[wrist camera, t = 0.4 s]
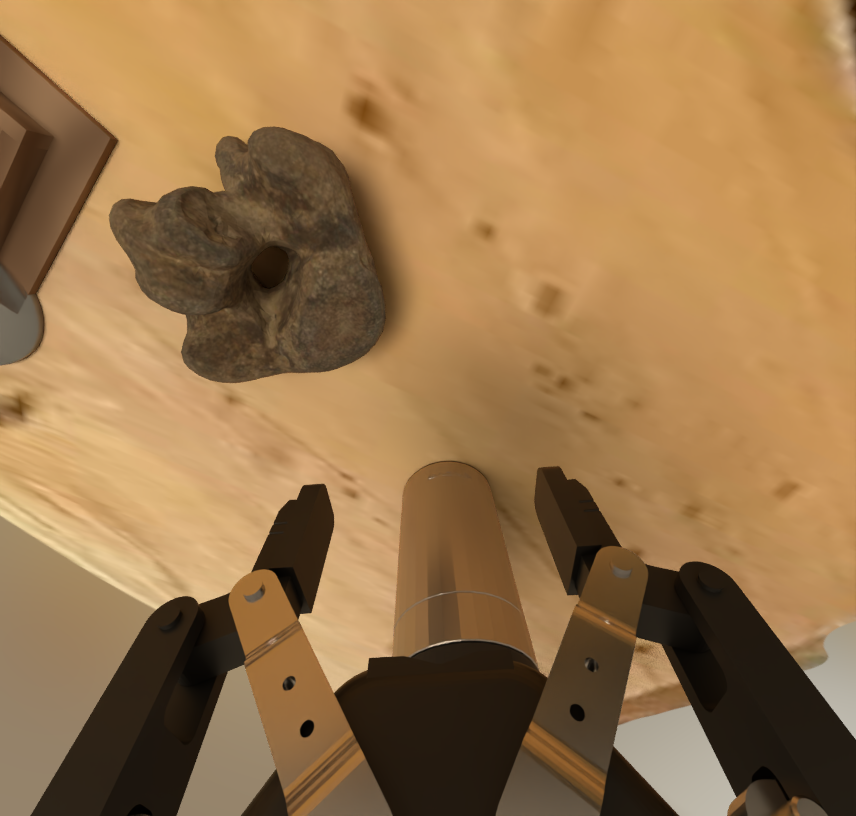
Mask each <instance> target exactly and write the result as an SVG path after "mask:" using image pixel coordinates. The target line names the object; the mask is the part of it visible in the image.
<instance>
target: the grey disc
mask: <svg viewBox="0 0 856 816" xmlns="http://www.w3.org/2000/svg"><path fill="white" fill-rule="evenodd" d="M2 267H4V266H3V265H2ZM2 267H1V265H0V268H1V269H0V275H1V276H0V283H1V284H0V285H1V286H0V290H2V289H3V290H4V292H3V290H2V291H1V292H0V294H1V295H0V296H2V297H1V299H2V298H3V297H4V298H3V299H2V301H3V302H2V301H1V303H0V365H5V364H10V363H13V362H16V361H19V360H22V359H24V358H26V357H28V356H29V355H31V354H32V353H33V352H34V351H35V350H36V349H37V347H38V346H39V344H40V342H41V339H42V336H43V331H44V320H43V314H42V310H41V306H40V303H39V301H38V298H37V296H36V294H32V295H27V294H26V295H27V296H26V297H27V298H26V297H25V295H24V294H25V293H23V295H24V296H23V295H22V293H21V290H18V286H17V287H15V286H16V285H17V284H15V283H16V282H15V281H16V280H15V281H14V280H13V278H12V277H13V276H12V277H10V278H11V279H12V280H11V279H10V278H8V276H9V275H8V273H5V272H7V270H4V269H5V268H4V269H3V268H2ZM2 270H3V271H2ZM8 271H9V270H8ZM1 273H2V274H1ZM4 273H5V275H6V276H7V277H6V276H5V275H4ZM2 276H4V277H2ZM4 278H5V279H4ZM14 278H15V277H14ZM4 280H5V281H4ZM8 280H9V281H8ZM10 280H11V282H10ZM1 281H2V282H1ZM6 282H7V283H6ZM9 282H10V283H9ZM13 282H14V283H13ZM3 283H4V284H3ZM8 283H9V284H8ZM12 284H13V285H12ZM2 285H3V286H2ZM7 285H8V286H7ZM10 285H11V286H12V287H11V286H10ZM14 285H15V286H14ZM1 287H2V289H1ZM14 287H15V288H14ZM5 289H6V292H5ZM7 289H8V290H7ZM19 289H20V288H19ZM11 290H12V291H13V292H12V291H11ZM24 290H25V289H24ZM7 291H8V292H9V291H11V292H12V293H11V292H9V293H8V294H6V293H7ZM22 291H23V290H22ZM23 292H26V291H23ZM4 293H5V294H6V295H7V296H8V295H9V296H8V298H7V296H6V295H5V294H4ZM20 293H21V295H20ZM3 295H4V296H3ZM14 295H15V296H14ZM13 296H14V297H13ZM16 296H18V297H16ZM9 297H10V298H9ZM11 297H12V298H11ZM5 298H7V299H5ZM16 298H17V299H16ZM21 298H22V299H21ZM25 298H26V299H25ZM4 299H5V300H4ZM8 299H13V300H10V301H8ZM17 300H18V302H17ZM6 301H7V302H8V303H9V305H7V304H8V303H7V302H6ZM11 301H12V302H13V301H14V303H15V304H16V305H14V304H13V303H12V302H11ZM10 302H11V303H10ZM19 302H20V303H21V302H22V303H21V304H20V303H19ZM2 303H4V305H3V304H2ZM6 303H7V304H6ZM5 305H7V306H6V307H5ZM12 305H14V306H13V307H10V306H12ZM8 306H9V308H10V309H8ZM19 306H20V307H19ZM14 307H15V309H16V310H15V309H14ZM16 307H18V308H16ZM11 308H13V310H14V311H12V309H11ZM20 308H21V309H20ZM18 309H19V310H18ZM17 312H18V314H17Z"/></svg>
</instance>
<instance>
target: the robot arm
mask: <svg viewBox="0 0 856 816" xmlns="http://www.w3.org/2000/svg"><path fill="white" fill-rule="evenodd" d="M535 509H536V513H537V516H538V519H539V522H540V524H541V527H542V530H543V532H544V535H545V537H546V540H547V543H548V545H549V548H550V551H551V553H552V556H553V559H554V561H555V564H556V567H557V569H558V572H559V574H560V577H561V580H562V582H563V585H564V588H565V590H566V593H567V595H579V598H580V600H579V602H578V604H577V605H576V606H575V608H574V610H573V613H572V615H571V618H570V621H569V623H568V626H567V629H566V631H565V634H564V637H563V639H562V642H561V645H560V647H559V650H558V653H557V655H556V658H555V661H554V663H553V666H552V668H551V671H550V674H549V676H548V678H547V677H546V676H544V675H543V674H542V673H540V672H539V668H538V665H537V661H536V657H535V653H534V650H533V646H532V642H531V638H530V635H529V631H528V627H527V624H526V621H525V617H524V613H523V609H522V606H521V602H520V598H519V594H518V591H517V587H516V583H515V579H514V576H513V572H512V568H511V564H510V561H509V557H508V553H507V549H506V546H505V542H504V538H503V534H502V531H501V527H500V523H499V519H498V515H497V511H496V508H495V504H494V500H493V496H492V493H491V489H490V486H489V484H488V482H487V480H486V479H485V477H484V476H483V475H482V474H481V473H480V472H479V471H477V470H476V469H474V468H472V467H470V466H468V465H466V464H462V463H458V462H439V463H435V464H431V465H428V466H426V467H424V468H422V469H420V470H419V471H418V472H416V473H415V474H414V475H413V476H412V477H411V478H410V479H409V480H408V482H407V484H406V486H405V488H404V492H403V498H402V513H401V526H400V542H399V557H398V573H397V588H396V604H395V619H394V635H393V636H394V638H393V654H392V657H380V658H369V664H368V670H367V671H364V672H362V673H360V674H358V675H356V676H354V677H353V678H351V679H350V680H348V681H347V682H346V683H344V684H343V685H342V686H341V687H340V688H339V689H338V690H337V691H336V692H335V693H333V691H332V689H331V686H330V684H329V682H328V680H327V678H326V676H325V674H324V672H323V670H322V668H321V666H320V664H319V662H318V659H317V657H316V655H315V653H314V651H313V649H312V647H311V645H310V643H309V641H308V639H307V637H306V635H305V633H304V630H303V628H302V626H301V624H300V623H299V621H298V619H299V616H300V614H306V613H312V609H313V605H314V601H315V597H316V593H317V590H318V586H319V582H320V578H321V574H322V571H323V567H324V563H325V559H326V555H327V552H328V548H329V544H330V540H331V536H332V533H333V528H334V514H333V510H332V506H331V503H330V499H329V496H328V492H327V488H326V486H325V484H313V485H304V486H303V487H302V488H301V491H300V493H299V496H298V498H297V500H289V501H288V502H287V503H286V504H285V505H284V506H283V507H282V508H281V509H280V511H279V512H278V515H277V517H276V519H275V521H274V525H273V526H272V528H271V530H270V532H269V533H270V534H269V535H268V537H267V539H266V541H265V543H264V545H263V548H262V550H261V552H260V554H259V556H258V559H257V561H256V563H255V565H254V567H253V570H252V572H251V573H249V574H247V575H246V576H244V577H243V578H242V579H240V580H239V581H238V582H237V583H236V584H235V586H234V587H233V589H232V590H231V592H230V593H228V594H226V595H223V596H221V597H218V598H215V599H212V600H210V601H207V602H204V603H201V604H198V603H197V601H196V600H195V599H194V598H192V597H188V596H183V597H178V598H175V599H173V600H170V601H169V602H167V603H165V604H163V605H162V606H161V607H159V608H158V609H157V610H156V611H155V612H154V613H153V614H152V615H151V616H150V617H149V618H148V620H147V621H146V623H145V624H144V626H143V628H142V629H141V631H140V633H139V635H138V636H137V638H136V639H135V641H134V643H133V645H132V646H131V648H130V650H129V651H128V653H127V655H126V656H125V658H124V660H123V661H122V663H121V665H120V666H119V668H118V670H117V671H116V673H115V675H114V677H113V678H112V680H111V681H110V683H109V685H108V687H107V688H106V690H105V692H104V693H103V695H102V697H101V698H100V700H99V702H98V703H97V705H96V707H95V708H94V710H93V712H92V714H91V715H90V717H89V719H88V720H87V722H86V724H85V725H84V727H83V729H82V731H81V732H80V734H79V735H78V737H77V739H76V740H75V742H74V744H73V746H72V747H71V749H70V750H69V752H68V754H67V755H66V757H65V759H64V761H63V762H62V764H61V766H60V767H59V769H58V771H57V772H56V774H55V776H54V777H53V779H52V781H51V782H50V784H49V786H48V788H47V789H46V791H45V792H44V794H43V796H42V798H41V799H40V801H39V802H38V804H37V806H36V808H35V809H34V811H33V813H32V814H31V816H176V815H177V813H178V810H179V807H180V804H181V801H182V798H183V796H184V793H185V790H186V787H187V785H188V782H189V779H190V776H191V773H192V771H193V768H194V765H195V762H196V759H197V756H198V753H199V750H200V748H201V745H202V742H203V740H204V737H205V734H206V731H207V728H208V725H209V723H210V720H211V717H212V714H213V711H214V708H215V706H216V703H217V700H218V698H219V695H220V692H221V689H222V686H223V683H224V681H225V678H226V675H227V672H228V671H230V670H232V669H234V668H237V667H239V666H242V665H245V669H246V672H247V675H248V679H249V682H250V685H251V688H252V691H253V695H254V698H255V701H256V704H257V707H258V711H259V714H260V717H261V721H262V724H263V727H264V730H265V734H266V737H267V740H268V743H269V747H270V750H271V753H272V756H273V760H274V763H275V766H276V770H275V771H274V772H273V774H272V775H271V777H270V778H269V779H268V780H267V782H266V783H265V785H264V786H263V787H262V789H261V790H260V791H259V792H258V794H257V795H256V796H255V798H254V799H253V801H252V802H251V803H250V804H249V806H248V807H247V809H246V810H245V811H244V812H243V814H242V815H241V816H679V815H678V814H677V813H676V812H675V811H674V810H673V809H672V808H671V807H670V806H669V805H668V804H667V802H665V800H664V799H663V798H662V797H661V796H660V795H659V794H658V793H657V792H656V791H655V790H654V789H653V788H652V787H651V785H649V784H648V782H647V781H646V780H645V779H644V778H643V777H642V776H641V775H640V774H639V773H638V772H637V771H636V770H635V769H634V768H633V766H632V765H631V764H630V763H629V762H628V761H627V760H626V759H625V758H624V757H623V756H622V755H621V754H620V753H619V752H618V751H617V749H616V748H615V747H614V746H613V744H614V740H615V735H616V731H617V726H618V722H619V717H620V712H621V708H622V703H623V699H624V694H625V689H626V685H627V680H628V676H629V671H630V666H631V662H632V657H633V653H634V648H635V643H636V637H638V638H641V639H645V640H649V641H653V642H656V643H660V644H662V646H663V648H664V650H665V652H666V654H667V657H668V659H669V661H670V663H671V665H672V667H673V669H674V671H675V673H676V675H677V677H678V679H679V681H680V683H681V685H682V687H683V689H684V691H685V693H686V695H687V697H688V699H689V701H690V703H691V705H692V707H693V710H694V711H695V714H696V715H697V718H698V720H699V722H700V724H701V726H702V728H703V730H704V732H705V734H706V736H707V738H708V740H709V742H710V744H711V746H712V748H713V750H714V752H715V754H716V756H717V758H718V760H719V763H720V765H721V767H722V769H723V771H724V773H725V775H726V777H727V779H728V780H729V783H730V785H731V787H732V789H733V791H734V793H735V795H736V797H737V798H736V799H734V800H733V802H732V803H731V804H730V806H729V809H728V815H727V816H856V739H855V738H854V737H853V736H852V734H851V733H850V732H849V730H848V729H847V728H846V727H845V725H844V724H843V722H842V721H841V720H840V719H839V717H838V716H837V715H836V713H835V712H834V711H833V710H832V708H831V707H830V706H829V704H828V703H827V702H826V700H825V699H824V698H823V696H822V695H821V694H820V692H819V691H818V690H817V689H816V687H815V686H814V685H813V683H812V682H811V681H810V679H809V678H808V677H807V675H806V674H805V673H804V671H803V670H802V669H801V668H800V666H799V665H798V664H797V662H796V661H795V660H794V658H793V657H792V656H791V654H790V653H789V652H788V651H787V649H786V648H785V647H784V645H783V644H782V643H781V641H780V640H779V639H778V637H777V636H776V635H775V633H774V632H773V631H772V630H771V628H770V627H769V626H768V624H767V623H766V622H765V620H764V619H763V618H762V616H761V615H760V614H759V613H758V611H757V610H756V609H755V607H754V606H753V605H752V603H751V602H750V601H749V599H748V598H747V597H746V596H745V594H744V593H743V592H742V590H741V589H740V588H739V586H738V585H737V584H736V583H735V581H734V580H733V579H732V578H731V577H730V576H729V575H727V574H726V573H725V572H723V571H722V570H720V569H718V568H717V567H715V566H712V565H710V564H707V563H703V562H688V563H685V564H684V565H683V566H682V567H681V568H680V571H679V572H678V571H673V570H668V569H663V568H659V567H654V566H650V565H647V564H645V563H644V562H643V561H642V560H641V559H640V558H639V557H638V556H637V555H636V554H634V553H633V552H631V551H629V550H627V549H625V548H622V547H621V545H620V544H619V542H618V541H617V539H616V537H615V535H614V534H613V532H612V530H611V529H610V527H609V525H608V524H607V522H606V520H605V518H604V517H603V515H602V513H601V512H600V511H599V508H598V507H597V505H596V503H595V502H594V501H593V498H592V496H591V495H590V493H589V491H588V490H587V488H586V487H584V486H583V485H582V484H581V483H579V482H578V481H577V480H576V479H572V480H567V479H566V477H565V475H564V473H563V471H562V469H561V468H560V467H559V466H557V467H543V468H538V470H537V478H536V488H535Z"/></svg>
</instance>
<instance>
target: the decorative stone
mask: <svg viewBox="0 0 856 816" xmlns="http://www.w3.org/2000/svg"><path fill="white" fill-rule="evenodd" d="M215 158H216V162H217V165H218V167H219V168H220V174H221V180H222V183H223V186H224V189H225V191H220V192H214V193H213V192H211V191H210V190H208V189H206V188H201V187H194V186H190V187H184V188H178V189H176V190H174V191H172V192H170V193H168V194H166V195H164V196H162V197H161V199H160V200H159V201H158V202H157V203H155V202H147V201H139V200H134V199H121V200H120V201H118V202H117V203H115V204H114V205H113V207H112V209H111V212H110V214H109V221H110V227H111V229H112V232H113V234H114V236H115V238H116V240H117V241H118V243H119V244H120V246H121V247H122V248H123V250H124V251H125V253H126V254H127V255H128V257H129V258H130V260H131V262H132V264H133V266H134V268H135V275H136V280H137V282H138V284H139V286H140V288H141V290H142V291H143V292H144V293H145V294H146V295H147V297H148V298H150V299H151V300H153V301H155V302H156V303H158V304H159V305H161V306H163V307H165V308H167V309H169V310H171V311H174V312H177V313H180V314H185V315H186V318H187V334H186V337H185V339H184V342H183V346H182V351H181V353H182V357H183V361H184V363H185V364H186V365H187V367H188V368H189V369H191V370H192V371H194V372H195V373H196V374H198V375H199V376H201V377H204V378H206V379H209V380H212V381H217V382H222V383H240V382H246V381H251V380H256V379H259V378H263V377H268V376H273V375H277V374H282V373H311V372H326V371H331V370H334V369H338V368H340V367H343V366H345V365H347V364H350V363H352V362H354V361H356V360H357V359H359V358H361V357H362V356H364V355H365V354H366V353H367V352H368V351H369V350H370V349H371V348H372V347H373V346H374V345H375V343H376V342H377V340H378V338H379V337H380V335H381V334H382V332H383V328H384V324H385V319H386V316H385V299H384V295H383V291H382V286H381V284H380V282H379V280H378V276H377V272H376V268H375V264H374V260H373V257H372V255H371V252H370V250H369V247H368V245H367V243H366V240H365V236H364V232H363V229H362V226H361V222H360V219H359V215H358V211H357V208H356V205H355V202H354V198H353V194H352V190H351V186H350V181H349V176H348V174H347V172H346V170H345V168H344V166H343V164H342V163H341V162H340V160H339V159H338V158H337V157H336V155H335V154H334V152H333V151H332V150H330V149H329V148H327V147H326V146H324V145H323V144H321V143H319V142H316V141H313V140H312V139H310V138H308V137H306V136H304V135H301V134H299V133H296V132H293V131H290V130H287V129H285V128H279V127H263V128H261V129H258V130H256V131H254V132H253V133H252V135H251V136H250V138H249V140H248V145H246V144H245V143H244V142H243V141H242V140H240V139H239V138H237V137H232V136H227V137H223V138H222V139H221V140H220V141H219V143H218V144H217V146H216V152H215ZM271 246H274V247H278V248H280V249H282V250H284V251H285V252H286V253H287V255H288V259H289V266H288V271H287V273H286V276H285V278H284V280H283V281H282V282H281V283H280V284H278V285H277V286H275V287H273V288H270V289H268V288H264V287H263V286H262V285H261V283H260V282H259V281H258V279H257V278H256V276H255V275H254V273H253V272H252V271H251V263H252V262H253V261H254V260H255V259H256V257H257V256H258V255H259V254H260V253H261V252H262V251H263V250H264V249H266V248H267V247H271Z"/></svg>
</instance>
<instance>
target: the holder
mask: <svg viewBox="0 0 856 816" xmlns="http://www.w3.org/2000/svg"><path fill="white" fill-rule="evenodd" d="M116 142H117V139H116V138H115V137H114V136H113V135H111V134H110V133H109V132H108V131H107V130H106V129H105V128H104V127H102V126H101V125H100V124H99V123H98V122H97V121H96V120H95V119H94V118H92V117H91V116H90V115H89V114H88V113H87V112H86V111H85V110H83V109H82V108H81V107H80V106H79V105H78V104H77V103H76V102H75V101H73V100H72V99H71V98H70V97H69V96H68V95H67V94H66V93H64V92H63V91H62V90H61V89H60V88H59V87H58V86H57V85H56V84H54V83H53V82H52V81H51V80H50V79H49V78H48V77H47V76H45V75H44V74H43V73H42V72H41V71H40V70H39V69H38V68H37V67H35V66H34V65H33V64H32V63H31V62H30V61H29V60H28V59H26V58H25V57H24V56H23V55H22V54H21V53H20V52H19V51H18V50H16V49H15V48H14V47H13V46H12V45H11V44H10V43H9V42H7V41H6V40H5V39H4V38H3V37H2V36H1V35H0V265H1V267H2V265H3V266H4V267H2V268H3V269H4V268H5V269H4V270H7V272H5V273H8V275H9V276H8V278H10V277H12V276H13V277H12V278H13V280H14V281H15V280H16V281H15V282H16V283H15V284H17V285H16V286H15V285H14V286H15V287H17V286H18V290H21V293H22V295H23V293H25V294H24V295H25V297H26V296H27V295H32V294H36V292H37V290H38V288H39V286H40V284H41V283H42V281H43V279H44V277H45V275H46V273H47V271H48V269H49V268H50V266H51V264H52V262H53V260H54V258H55V256H56V254H57V253H58V251H59V249H60V247H61V245H62V243H63V241H64V239H65V238H66V236H67V234H68V232H69V230H70V228H71V226H72V224H73V223H74V221H75V219H76V217H77V215H78V213H79V211H80V209H81V208H82V206H83V204H84V202H85V200H86V198H87V196H88V194H89V193H90V191H91V189H92V187H93V185H94V183H95V181H96V179H97V178H98V176H99V174H100V172H101V170H102V168H103V166H104V164H105V163H106V161H107V159H108V157H109V155H110V153H111V151H112V149H113V148H114V146H115V144H116ZM0 269H1V268H0ZM8 270H9V271H8ZM2 271H3V270H2ZM5 273H4V275H5ZM1 274H2V273H1ZM0 276H1V275H0ZM5 276H6V275H5ZM2 277H4V276H2ZM6 277H7V276H6ZM14 277H15V278H14ZM4 279H5V278H4ZM10 279H11V278H10ZM11 280H12V279H11ZM11 280H10V282H11ZM4 281H5V280H4ZM8 281H9V280H8ZM1 282H2V281H1ZM10 282H9V283H10ZM6 283H7V282H6ZM9 283H8V284H9ZM13 283H14V282H13ZM0 284H1V283H0ZM3 284H4V283H3ZM12 285H13V284H12ZM0 286H1V285H0ZM2 286H3V285H2ZM7 286H8V285H7ZM10 286H11V285H10ZM11 287H12V286H11ZM15 287H14V288H15ZM19 288H20V289H19ZM1 289H2V287H1ZM24 289H25V290H24ZM2 290H3V289H2ZM2 290H0V292H1V291H2ZM7 290H8V289H7ZM22 290H23V291H26V292H23V291H22ZM11 291H12V290H11ZM11 291H9V292H11ZM3 292H4V290H3ZM5 292H6V289H5ZM9 292H8V291H7V293H6V294H8V293H9ZM12 292H13V291H12ZM12 292H11V293H12ZM21 293H20V295H21ZM4 294H5V293H4ZM6 294H5V295H6ZM26 294H27V295H26ZM0 295H1V294H0ZM24 295H23V296H24ZM3 296H4V295H3ZM6 296H7V295H6ZM8 296H9V295H8ZM8 296H7V298H8ZM14 296H15V295H14ZM14 296H13V297H14ZM1 297H2V296H0V303H1V301H2V299H3V298H4V297H3V298H2V299H1ZM16 297H18V296H16ZM7 298H5V299H7ZM9 298H10V297H9ZM11 298H12V297H11ZM26 298H27V297H26ZM26 298H25V299H26ZM5 299H4V300H5ZM16 299H17V298H16ZM21 299H22V298H21ZM10 300H13V299H8V301H10ZM2 302H3V301H2ZM6 302H7V301H6ZM11 302H12V301H11ZM11 302H10V303H11ZM17 302H18V300H17ZM7 303H8V302H7ZM7 303H6V304H7ZM12 303H13V304H14V305H16V304H15V303H14V301H13V302H12ZM19 303H20V302H19ZM21 303H22V302H21ZM21 303H20V304H21ZM2 304H3V305H4V303H2ZM7 305H9V303H8V304H7ZM7 305H5V307H6V306H7ZM14 305H12V306H10V307H13V306H14ZM19 307H20V306H19ZM16 308H18V307H16ZM8 309H10V308H9V306H8ZM11 309H12V311H14V310H13V308H11ZM14 309H15V307H14ZM20 309H21V308H20ZM15 310H16V309H15ZM18 310H19V309H18ZM17 314H18V312H17Z"/></svg>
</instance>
